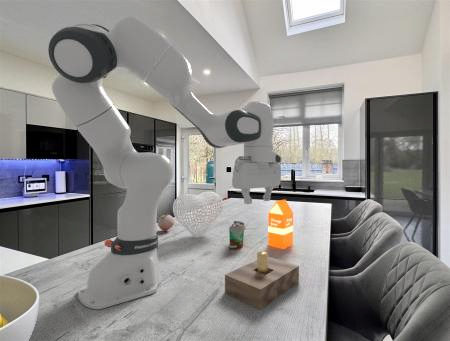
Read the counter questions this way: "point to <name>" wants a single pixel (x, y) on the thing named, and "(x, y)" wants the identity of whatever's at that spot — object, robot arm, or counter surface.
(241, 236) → the food container
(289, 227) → the orange juice
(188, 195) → the heart
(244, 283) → the hole block
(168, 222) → the decorative fruit
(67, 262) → the counter surface
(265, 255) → the peg
